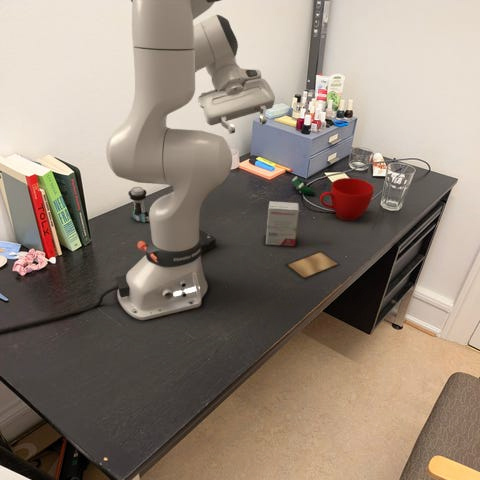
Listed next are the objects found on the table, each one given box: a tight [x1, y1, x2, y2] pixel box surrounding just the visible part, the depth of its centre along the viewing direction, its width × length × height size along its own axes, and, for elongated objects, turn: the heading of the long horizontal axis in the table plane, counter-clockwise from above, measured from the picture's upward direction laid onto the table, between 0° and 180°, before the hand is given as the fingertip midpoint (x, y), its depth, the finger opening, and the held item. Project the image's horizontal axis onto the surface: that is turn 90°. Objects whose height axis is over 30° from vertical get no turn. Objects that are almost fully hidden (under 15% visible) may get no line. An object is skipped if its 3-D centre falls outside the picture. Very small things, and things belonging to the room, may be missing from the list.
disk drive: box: [199, 229, 217, 253], centre depth 129 cm, size 10×3×15 cm
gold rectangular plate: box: [287, 251, 338, 279], centre depth 123 cm, size 12×7×1 cm, turn 124°
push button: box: [128, 186, 150, 223], centre depth 136 cm, size 7×5×10 cm
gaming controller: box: [291, 175, 315, 196], centre depth 157 cm, size 9×4×6 cm
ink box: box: [265, 200, 300, 247], centre depth 128 cm, size 9×5×12 cm, turn 84°
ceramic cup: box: [319, 177, 375, 221], centre depth 141 cm, size 13×17×10 cm
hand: (248, 127), depth 122 cm, fingers open, 8 cm apart
